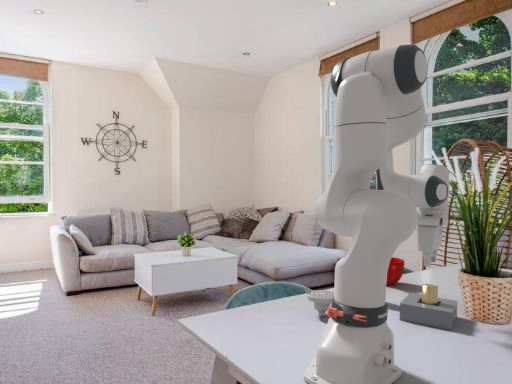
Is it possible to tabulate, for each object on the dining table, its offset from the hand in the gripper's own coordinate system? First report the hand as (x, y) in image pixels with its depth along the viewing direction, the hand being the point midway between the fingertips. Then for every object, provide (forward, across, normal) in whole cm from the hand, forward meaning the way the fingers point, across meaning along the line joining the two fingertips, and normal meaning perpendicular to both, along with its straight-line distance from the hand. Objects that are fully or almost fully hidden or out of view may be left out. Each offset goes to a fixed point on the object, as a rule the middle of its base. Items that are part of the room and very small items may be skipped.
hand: (429, 264), depth 118 cm
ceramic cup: (+16, -35, -20) cm, 44 cm away
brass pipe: (+17, -1, 0) cm, 17 cm away
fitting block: (+17, -1, 0) cm, 17 cm away
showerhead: (+18, +16, -28) cm, 37 cm away
